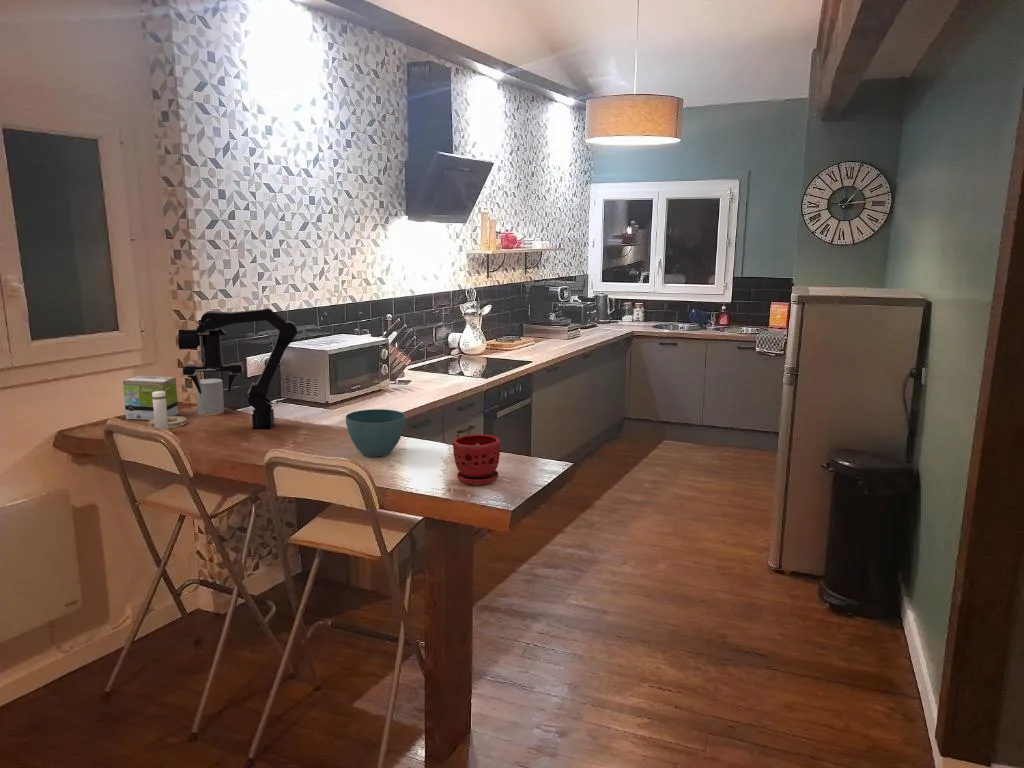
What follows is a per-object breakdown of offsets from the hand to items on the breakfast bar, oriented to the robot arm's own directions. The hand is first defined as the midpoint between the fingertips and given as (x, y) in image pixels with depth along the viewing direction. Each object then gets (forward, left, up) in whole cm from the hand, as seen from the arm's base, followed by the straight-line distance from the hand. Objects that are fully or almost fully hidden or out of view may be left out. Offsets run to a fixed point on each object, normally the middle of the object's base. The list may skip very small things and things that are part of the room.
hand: (215, 393), depth 253 cm
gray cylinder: (+14, -24, -13) cm, 31 cm away
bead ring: (+20, -5, -13) cm, 25 cm away
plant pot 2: (-95, +43, -13) cm, 105 cm away
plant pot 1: (-61, +21, -13) cm, 66 cm away
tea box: (+31, -14, -13) cm, 37 cm away
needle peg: (+17, +6, -13) cm, 22 cm away
